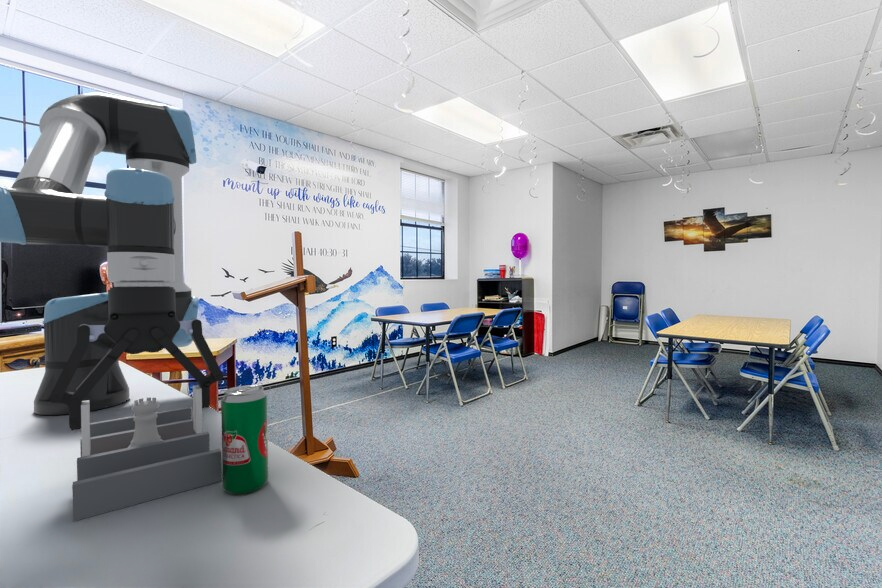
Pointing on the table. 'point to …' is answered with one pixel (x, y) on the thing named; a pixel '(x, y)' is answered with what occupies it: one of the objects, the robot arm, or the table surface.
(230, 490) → the soda can
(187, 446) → the stepped slat stand
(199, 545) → the table surface
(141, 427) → the rook chess piece
